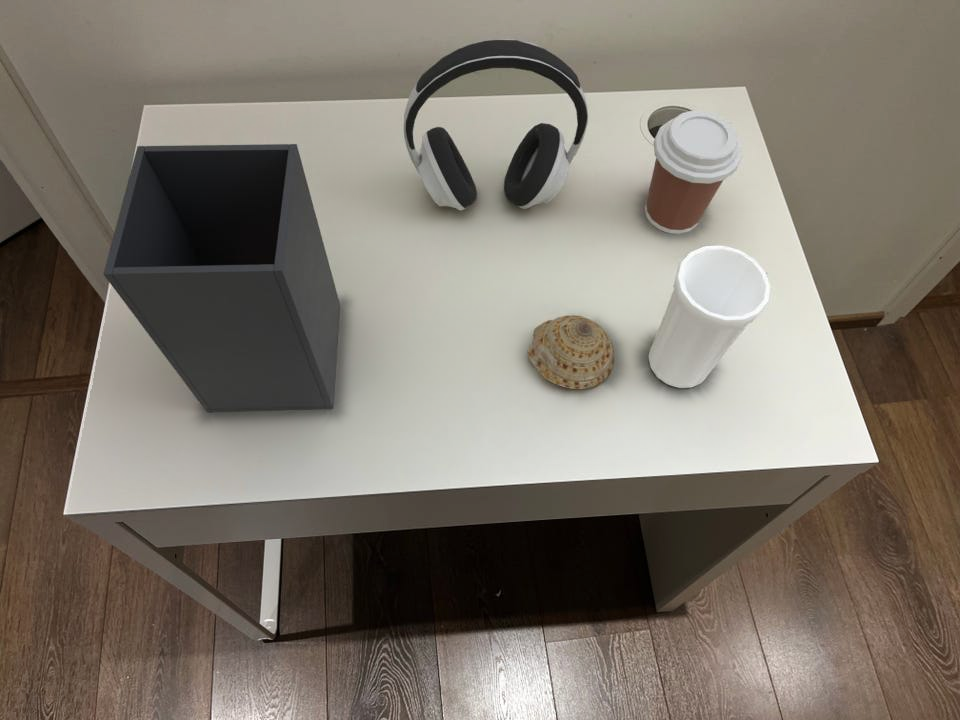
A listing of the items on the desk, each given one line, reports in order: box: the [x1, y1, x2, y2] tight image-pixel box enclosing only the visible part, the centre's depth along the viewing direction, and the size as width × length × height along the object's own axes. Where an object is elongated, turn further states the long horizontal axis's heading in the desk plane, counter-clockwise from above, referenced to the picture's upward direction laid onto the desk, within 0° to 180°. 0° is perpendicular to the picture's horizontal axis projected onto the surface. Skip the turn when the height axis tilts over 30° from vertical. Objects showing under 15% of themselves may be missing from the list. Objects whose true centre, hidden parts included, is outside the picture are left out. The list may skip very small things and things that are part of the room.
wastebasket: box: [103, 143, 341, 413], centre depth 61 cm, size 12×12×23 cm
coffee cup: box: [644, 109, 743, 235], centre depth 76 cm, size 9×9×12 cm
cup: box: [648, 245, 772, 389], centre depth 66 cm, size 8×8×14 cm
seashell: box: [527, 314, 615, 390], centre depth 71 cm, size 8×6×8 cm
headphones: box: [403, 38, 589, 211], centre depth 73 cm, size 19×8×20 cm, turn 95°
